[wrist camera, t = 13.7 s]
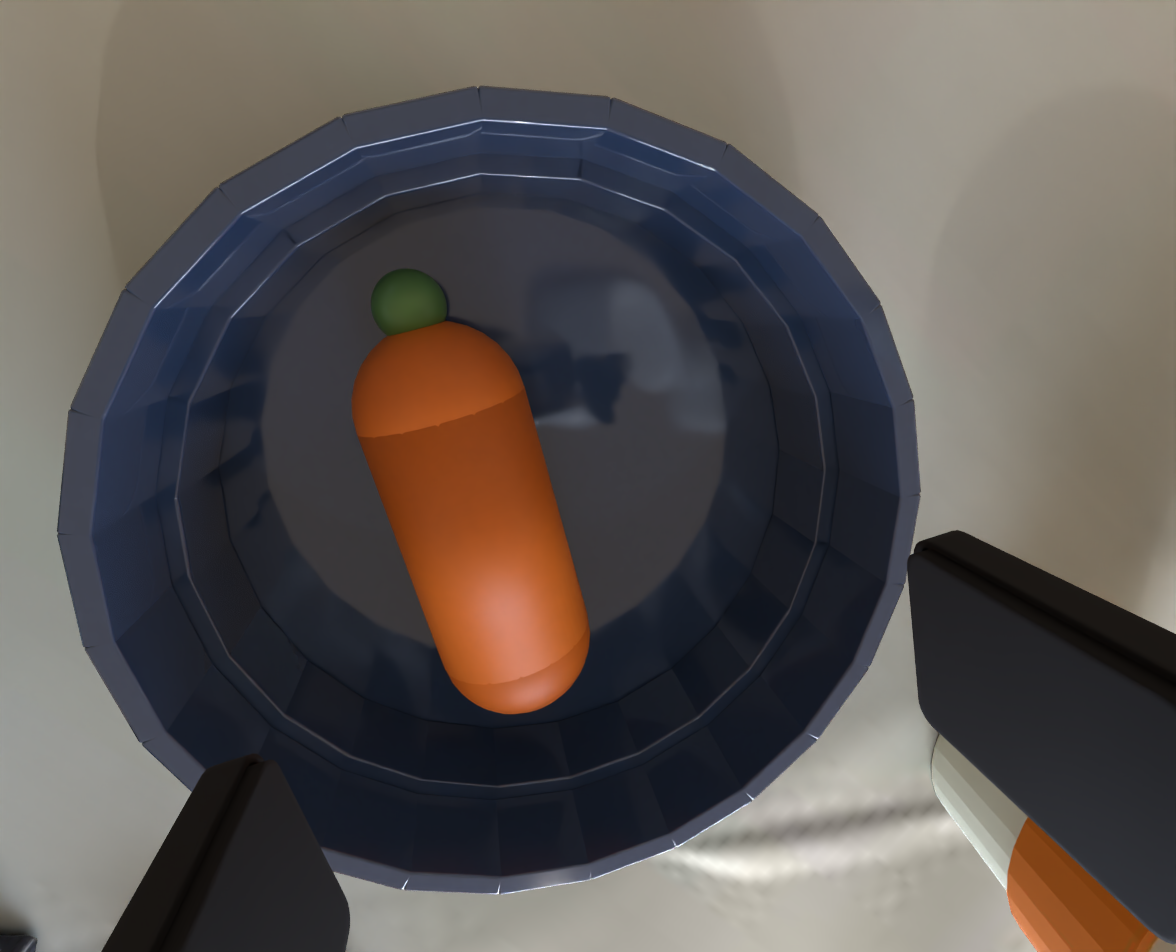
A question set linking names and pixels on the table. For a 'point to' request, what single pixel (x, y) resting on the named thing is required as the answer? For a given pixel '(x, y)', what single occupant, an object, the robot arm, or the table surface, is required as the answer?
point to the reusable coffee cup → (1035, 868)
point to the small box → (17, 943)
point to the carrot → (469, 500)
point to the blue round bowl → (574, 462)
